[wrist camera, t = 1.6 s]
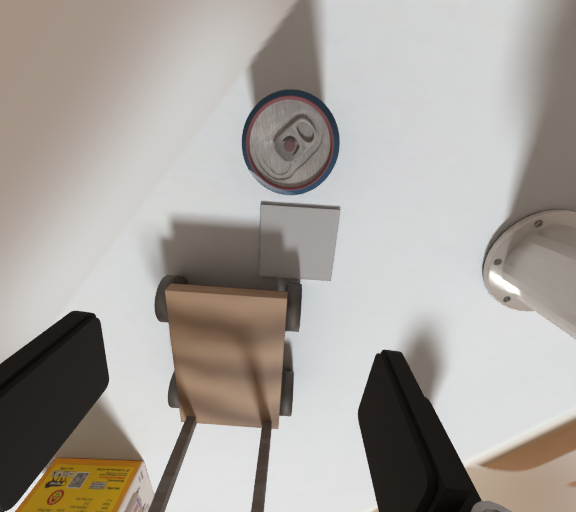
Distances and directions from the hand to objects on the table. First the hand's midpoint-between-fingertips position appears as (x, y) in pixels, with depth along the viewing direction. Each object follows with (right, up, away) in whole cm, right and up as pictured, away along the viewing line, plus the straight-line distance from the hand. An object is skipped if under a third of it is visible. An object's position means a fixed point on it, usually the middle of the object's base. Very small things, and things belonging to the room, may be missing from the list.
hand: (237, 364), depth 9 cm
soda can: (+2, +15, +20) cm, 25 cm away
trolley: (-5, -7, +29) cm, 30 cm away
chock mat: (+3, +5, +24) cm, 24 cm away
